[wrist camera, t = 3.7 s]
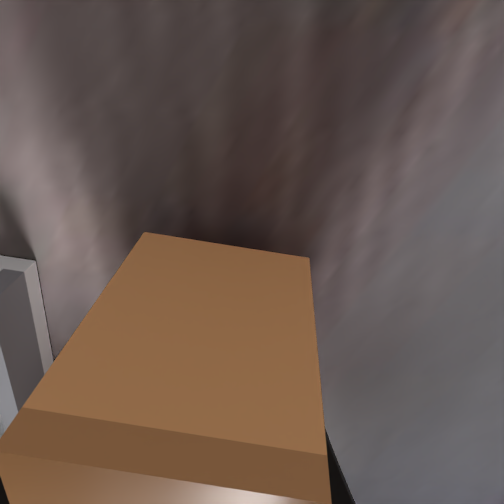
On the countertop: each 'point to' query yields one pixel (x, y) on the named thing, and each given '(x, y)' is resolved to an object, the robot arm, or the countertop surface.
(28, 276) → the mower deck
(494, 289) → the countertop surface
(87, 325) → the orange stepped block
